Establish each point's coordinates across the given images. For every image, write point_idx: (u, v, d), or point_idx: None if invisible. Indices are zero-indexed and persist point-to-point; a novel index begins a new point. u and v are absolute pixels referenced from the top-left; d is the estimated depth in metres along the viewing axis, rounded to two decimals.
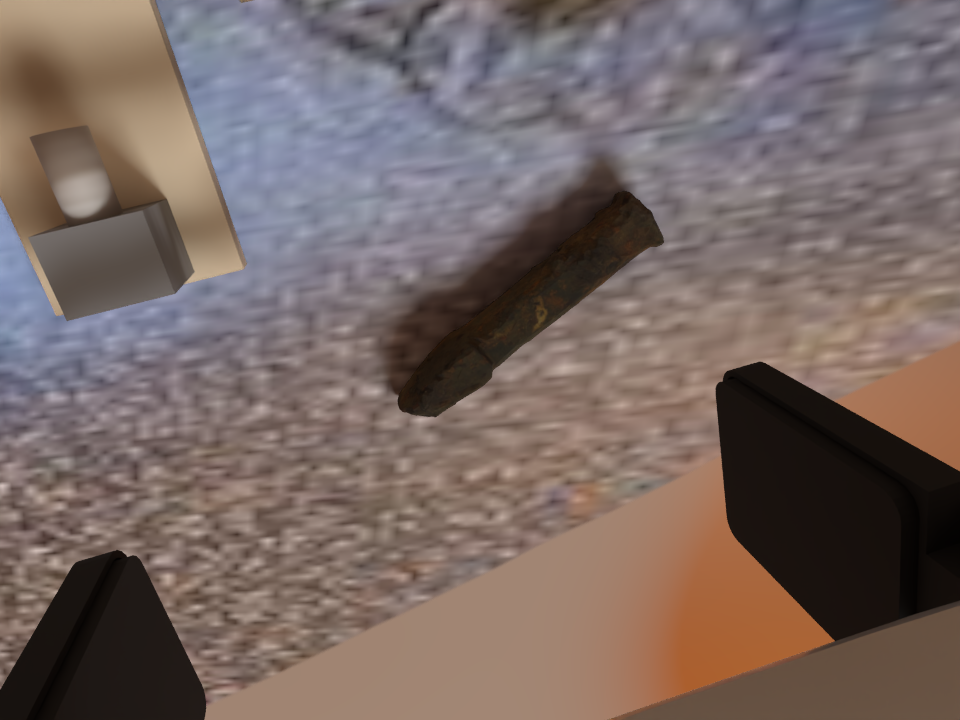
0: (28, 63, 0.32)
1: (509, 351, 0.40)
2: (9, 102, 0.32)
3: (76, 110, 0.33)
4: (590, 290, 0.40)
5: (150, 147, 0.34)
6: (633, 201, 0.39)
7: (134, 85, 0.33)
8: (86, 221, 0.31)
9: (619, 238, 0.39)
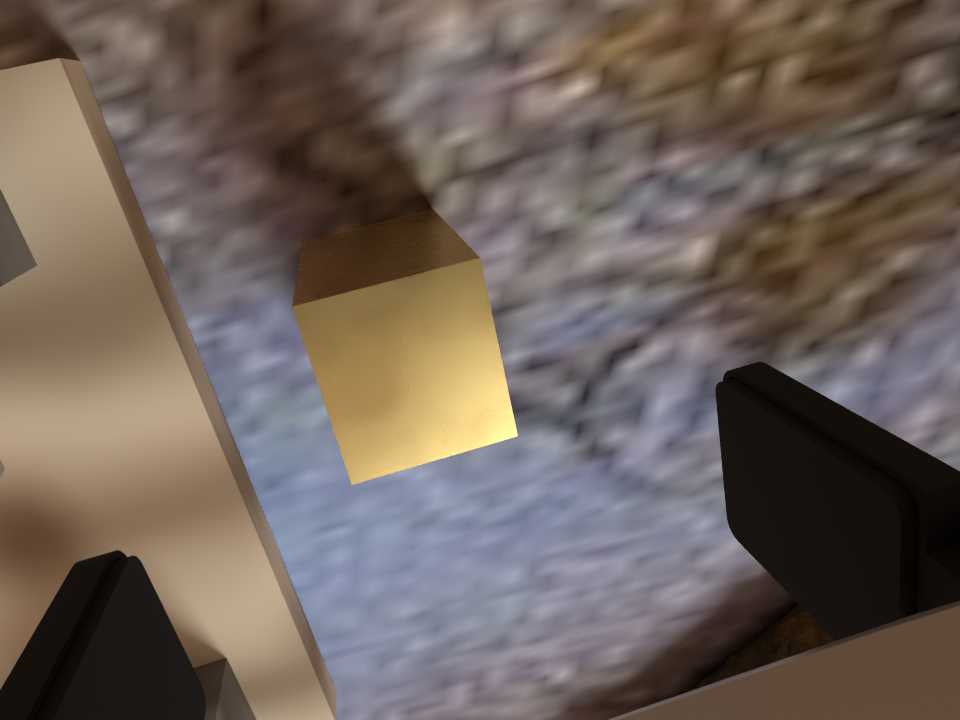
0: (8, 515, 0.20)
1: None
2: None
3: None
4: None
5: (203, 598, 0.22)
6: None
7: (179, 523, 0.21)
8: None
9: None
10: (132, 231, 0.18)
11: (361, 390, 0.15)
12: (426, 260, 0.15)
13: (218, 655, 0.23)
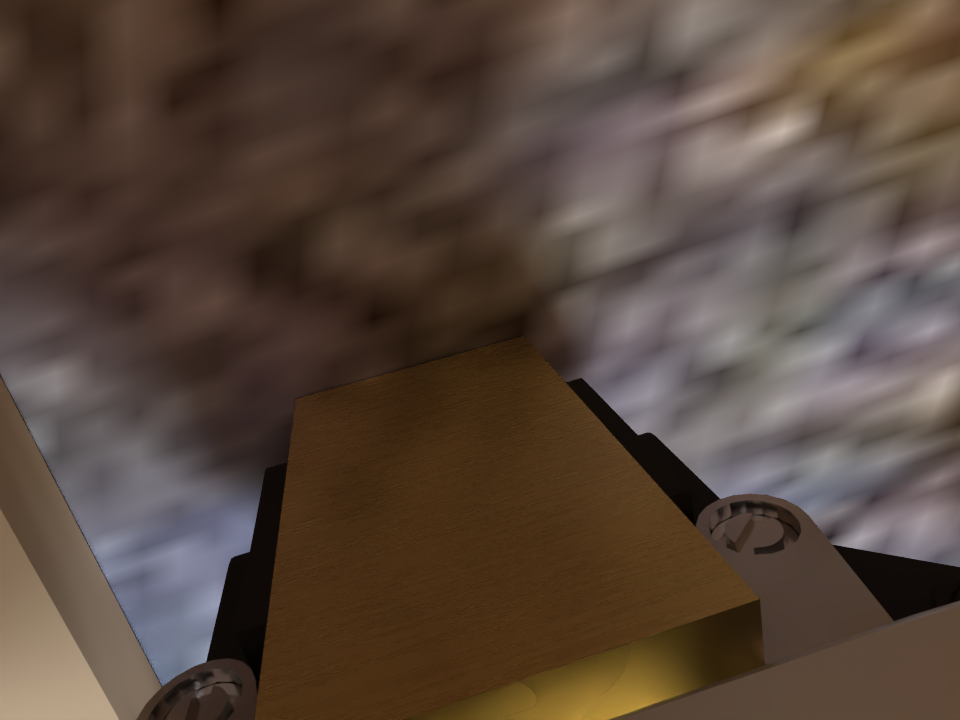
0: None
1: None
2: None
3: None
4: None
5: None
6: None
7: None
8: None
9: None
10: None
11: None
12: (591, 569, 0.06)
13: None
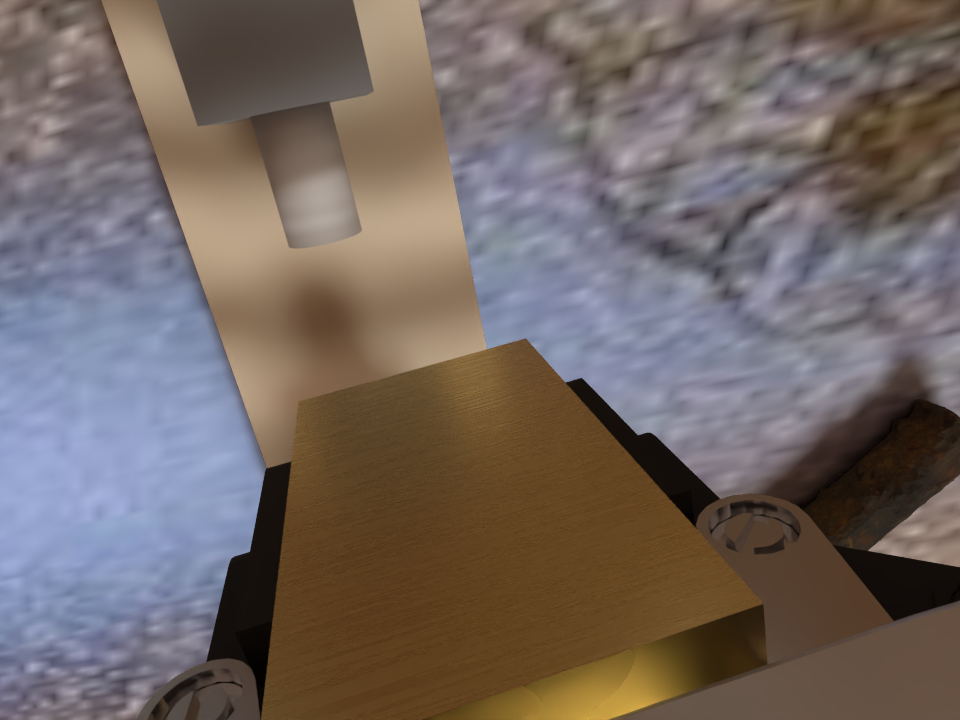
0: (311, 296, 0.26)
1: None
2: (284, 340, 0.26)
3: (359, 346, 0.27)
4: (902, 521, 0.34)
5: None
6: None
7: (429, 316, 0.27)
8: None
9: (942, 465, 0.33)
10: (432, 74, 0.24)
11: None
12: (595, 573, 0.06)
13: None
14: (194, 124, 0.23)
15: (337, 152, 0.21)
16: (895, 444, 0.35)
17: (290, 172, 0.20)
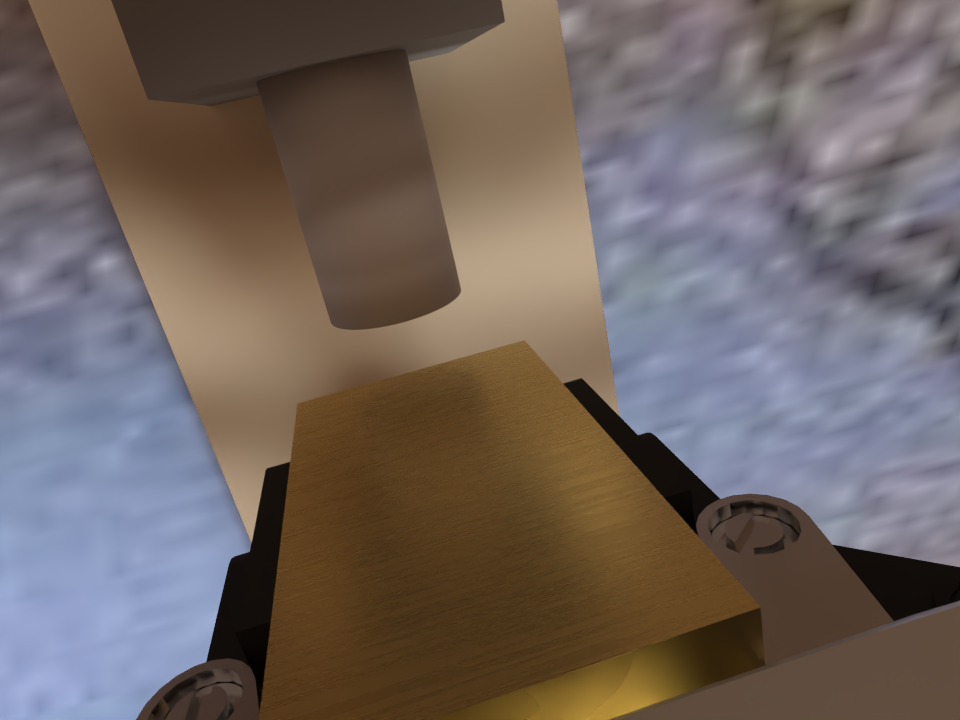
0: (359, 383, 0.16)
1: None
2: None
3: None
4: None
5: None
6: None
7: None
8: None
9: None
10: (558, 15, 0.14)
11: None
12: (592, 577, 0.06)
13: None
14: (158, 107, 0.13)
15: (423, 149, 0.11)
16: None
17: (337, 189, 0.10)
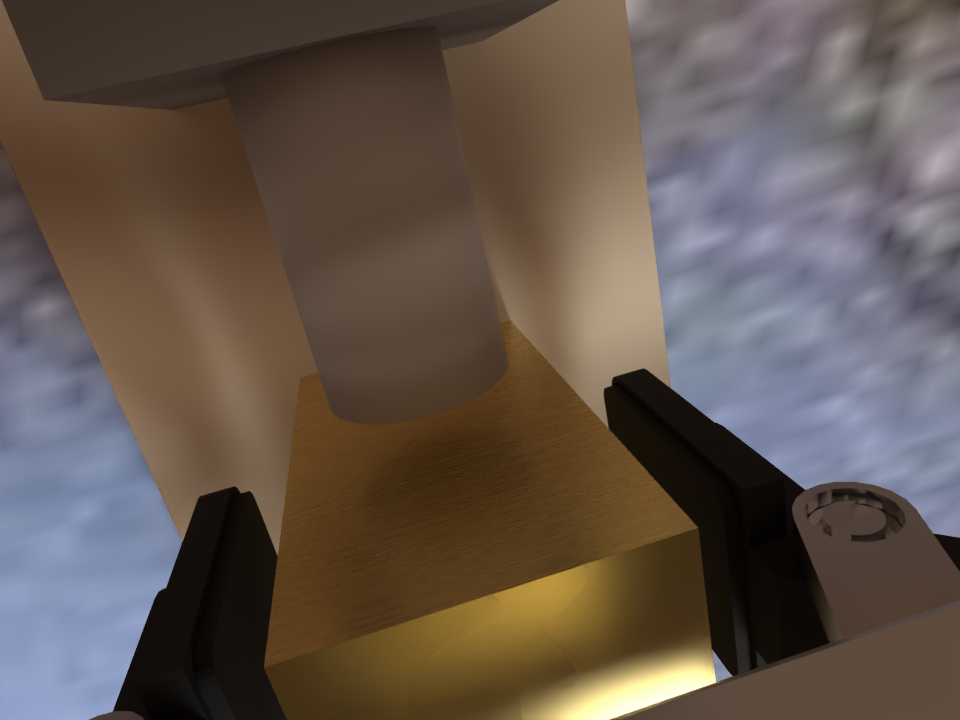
0: None
1: None
2: None
3: None
4: None
5: None
6: None
7: None
8: None
9: None
10: None
11: None
12: (559, 509, 0.07)
13: None
14: (103, 112, 0.10)
15: (461, 171, 0.08)
16: None
17: (338, 231, 0.07)
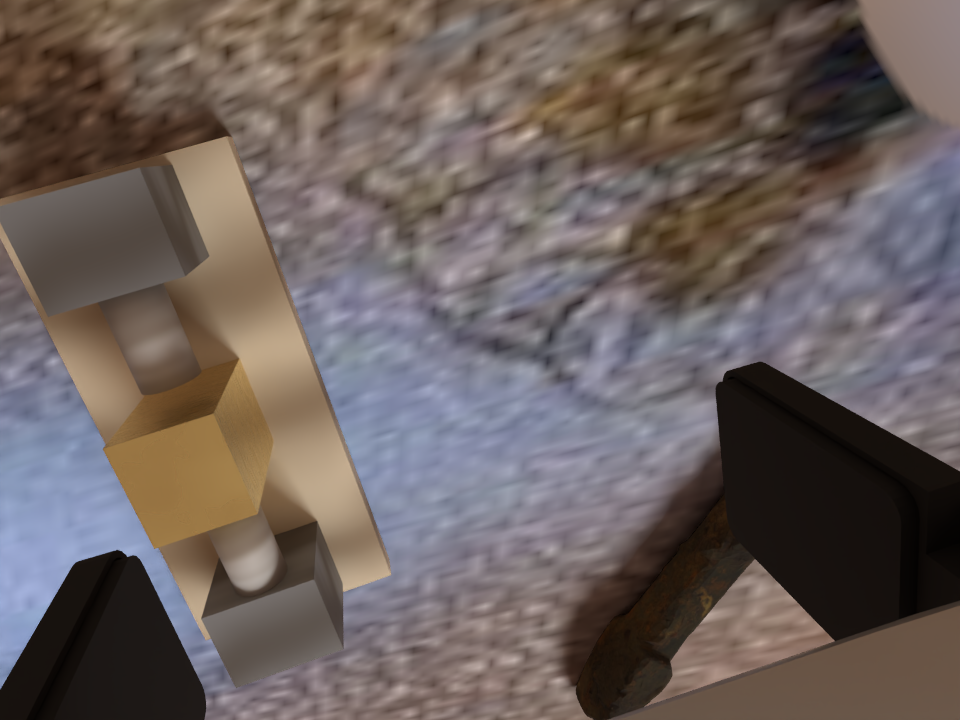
0: None
1: (682, 642, 0.39)
2: None
3: None
4: (750, 563, 0.39)
5: (302, 476, 0.33)
6: None
7: (288, 423, 0.32)
8: (257, 593, 0.30)
9: None
10: (263, 234, 0.30)
11: (152, 493, 0.25)
12: (189, 413, 0.25)
13: (312, 518, 0.34)
14: None
15: (168, 319, 0.26)
16: None
17: (129, 340, 0.26)
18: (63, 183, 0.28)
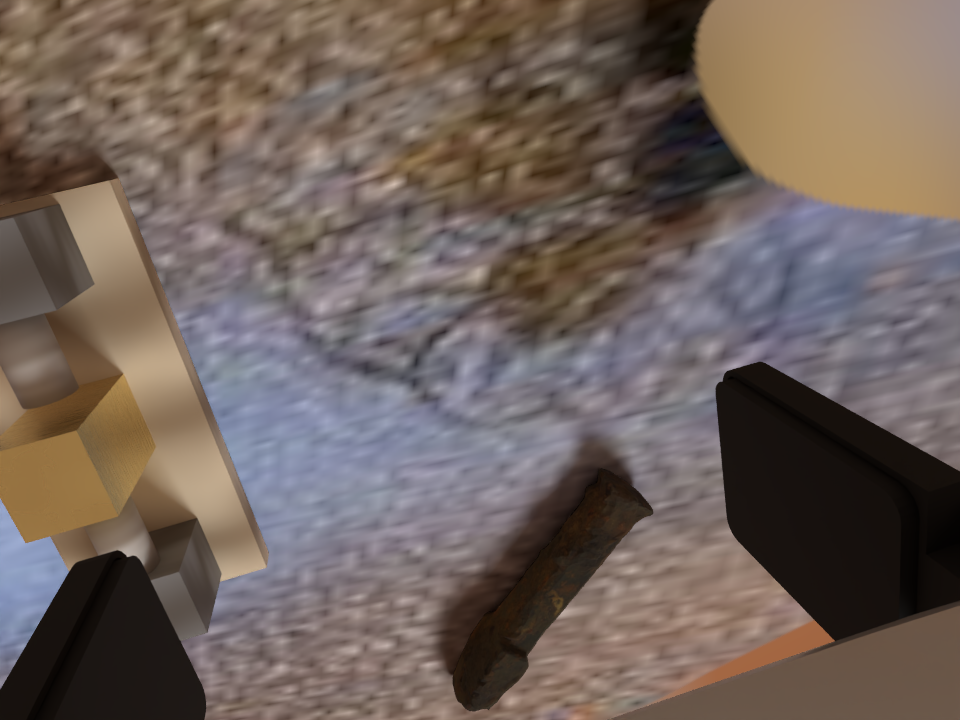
0: None
1: (538, 637, 0.44)
2: None
3: None
4: (597, 568, 0.44)
5: (183, 478, 0.37)
6: (615, 492, 0.42)
7: (169, 431, 0.36)
8: None
9: (611, 524, 0.42)
10: (144, 266, 0.34)
11: (22, 495, 0.29)
12: (58, 428, 0.29)
13: (192, 516, 0.38)
14: None
15: (45, 344, 0.30)
16: (582, 509, 0.44)
17: (8, 362, 0.29)
18: None
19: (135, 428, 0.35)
